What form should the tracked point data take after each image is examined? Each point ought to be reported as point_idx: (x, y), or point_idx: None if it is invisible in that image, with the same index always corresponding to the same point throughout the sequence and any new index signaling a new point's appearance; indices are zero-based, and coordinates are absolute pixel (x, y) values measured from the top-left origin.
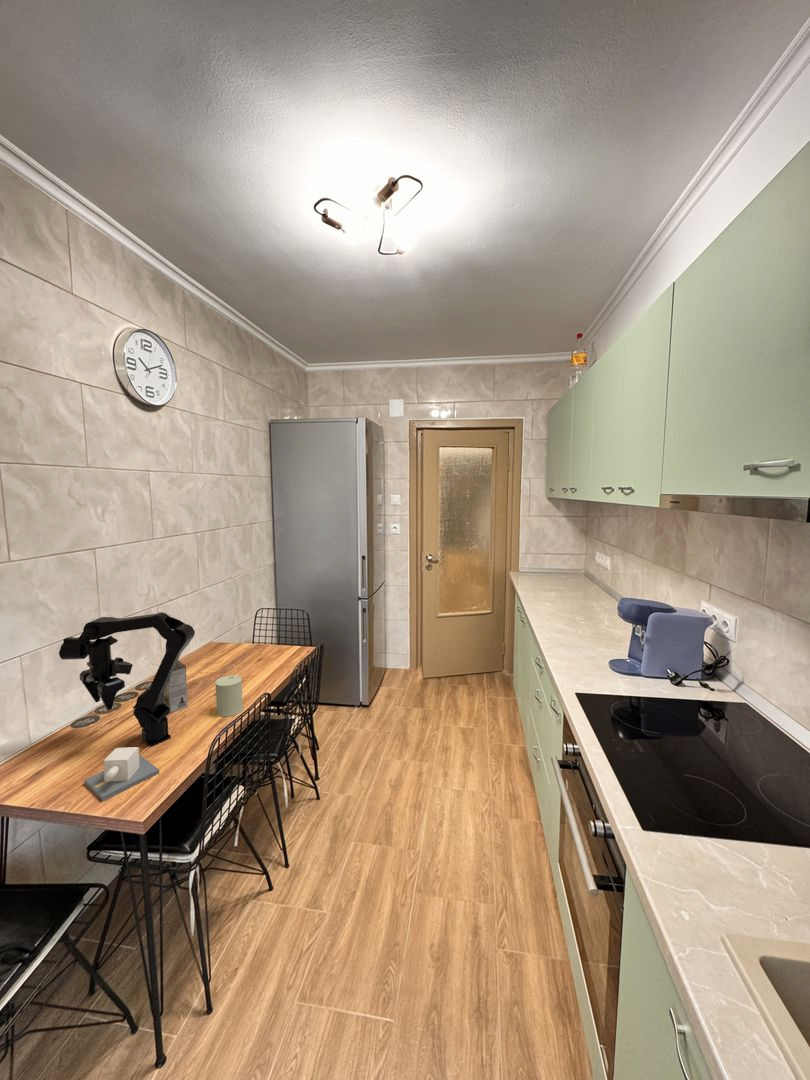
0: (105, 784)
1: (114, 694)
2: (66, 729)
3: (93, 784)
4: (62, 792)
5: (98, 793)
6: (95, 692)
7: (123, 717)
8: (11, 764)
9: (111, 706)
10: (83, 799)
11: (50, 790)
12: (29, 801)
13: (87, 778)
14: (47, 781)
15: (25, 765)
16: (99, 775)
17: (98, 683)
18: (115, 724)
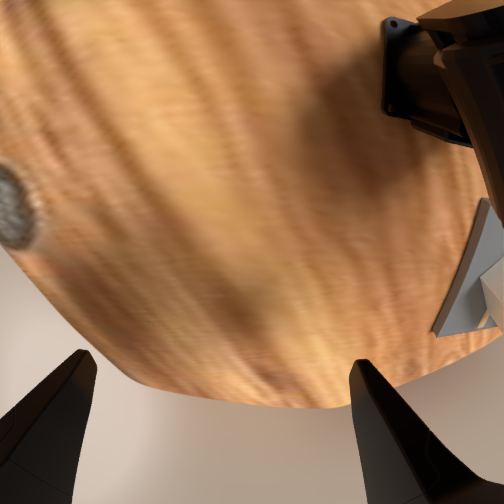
0: None
1: (460, 478)
2: (29, 266)
3: (470, 328)
4: (410, 359)
5: (496, 325)
6: (62, 437)
7: (49, 84)
8: (163, 387)
9: (379, 380)
10: (469, 337)
11: None
12: None
13: (440, 332)
14: (333, 372)
15: (195, 379)
16: (459, 312)
17: (15, 489)
18: (89, 126)
